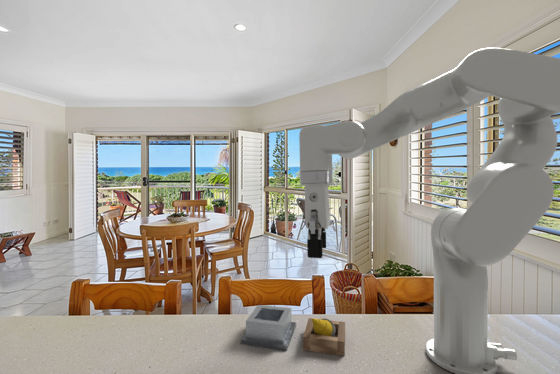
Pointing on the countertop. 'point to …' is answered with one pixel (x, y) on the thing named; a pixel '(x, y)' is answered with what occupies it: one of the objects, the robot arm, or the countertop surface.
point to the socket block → (325, 339)
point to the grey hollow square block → (269, 328)
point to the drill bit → (323, 327)
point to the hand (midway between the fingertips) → (317, 252)
